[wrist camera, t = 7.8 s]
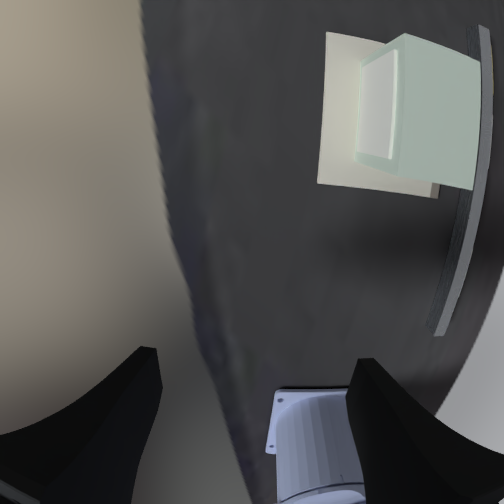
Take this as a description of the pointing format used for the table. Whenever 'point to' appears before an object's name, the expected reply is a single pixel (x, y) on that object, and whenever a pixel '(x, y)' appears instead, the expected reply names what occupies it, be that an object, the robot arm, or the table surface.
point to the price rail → (467, 193)
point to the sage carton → (420, 112)
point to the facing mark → (352, 123)
